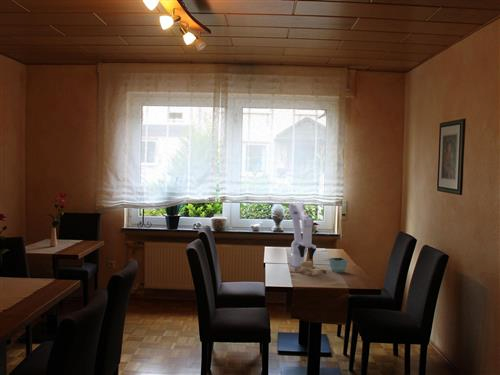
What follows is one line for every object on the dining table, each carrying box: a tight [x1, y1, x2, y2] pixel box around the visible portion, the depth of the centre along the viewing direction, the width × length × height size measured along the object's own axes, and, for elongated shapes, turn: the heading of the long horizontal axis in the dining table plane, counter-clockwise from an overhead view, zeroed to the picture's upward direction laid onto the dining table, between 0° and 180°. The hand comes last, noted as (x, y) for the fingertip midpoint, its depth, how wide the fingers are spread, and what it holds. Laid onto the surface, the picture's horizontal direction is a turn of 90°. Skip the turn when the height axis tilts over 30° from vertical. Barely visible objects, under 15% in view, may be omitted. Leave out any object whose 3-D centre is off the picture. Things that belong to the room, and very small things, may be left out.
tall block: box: [299, 260, 314, 271], centre depth 306 cm, size 2×9×6 cm, turn 128°
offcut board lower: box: [308, 271, 324, 276], centre depth 300 cm, size 5×10×1 cm, turn 129°
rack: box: [294, 266, 327, 277], centre depth 303 cm, size 14×14×3 cm
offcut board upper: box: [309, 267, 323, 273], centre depth 300 cm, size 4×8×1 cm, turn 136°
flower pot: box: [329, 257, 348, 273], centre depth 308 cm, size 9×9×9 cm
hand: (306, 258), depth 306 cm, fingers open, 7 cm apart
